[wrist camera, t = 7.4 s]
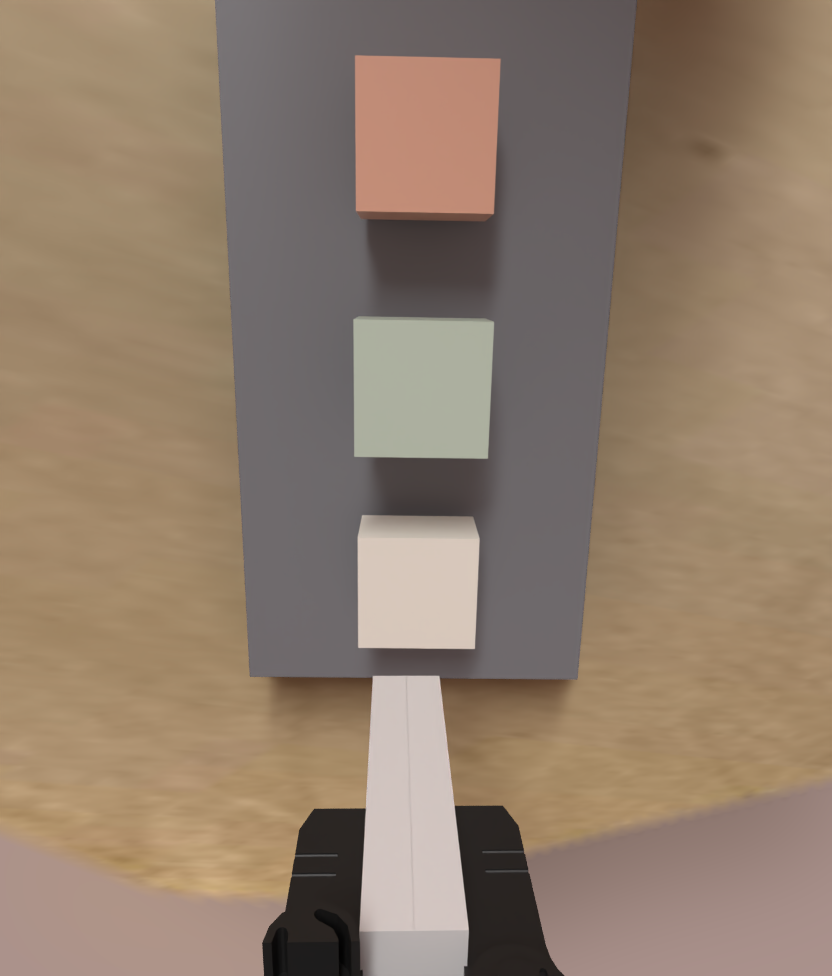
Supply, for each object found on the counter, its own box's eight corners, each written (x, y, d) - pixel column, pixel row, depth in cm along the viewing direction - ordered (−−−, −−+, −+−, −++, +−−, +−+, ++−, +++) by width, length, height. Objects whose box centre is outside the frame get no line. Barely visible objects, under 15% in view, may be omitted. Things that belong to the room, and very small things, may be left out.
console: (264, 640, 31) (249, 676, 28) (236, 11, 24) (213, -27, 22) (561, 643, 31) (577, 679, 28) (611, 19, 25) (638, -16, 22)
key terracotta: (366, 226, 26) (355, 211, 21) (365, 103, 25) (355, 55, 19) (476, 228, 26) (493, 213, 21) (481, 106, 25) (500, 58, 20)
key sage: (364, 424, 26) (354, 456, 21) (364, 313, 25) (353, 319, 20) (472, 426, 26) (487, 458, 21) (476, 315, 25) (494, 321, 20)
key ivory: (366, 585, 29) (358, 648, 24) (366, 492, 28) (357, 537, 23) (462, 586, 29) (474, 649, 24) (466, 494, 28) (479, 538, 23)
